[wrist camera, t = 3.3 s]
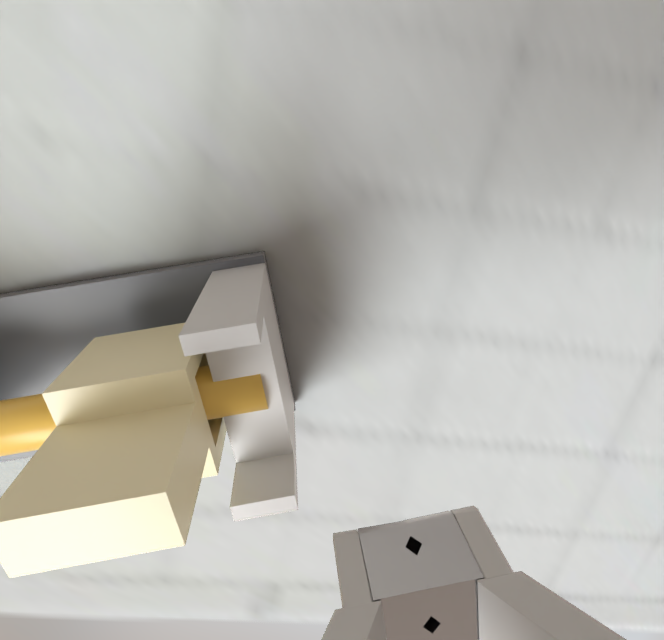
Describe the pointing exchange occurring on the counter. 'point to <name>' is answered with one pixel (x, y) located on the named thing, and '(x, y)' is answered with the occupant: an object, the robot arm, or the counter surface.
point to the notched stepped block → (113, 457)
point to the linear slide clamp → (196, 338)
